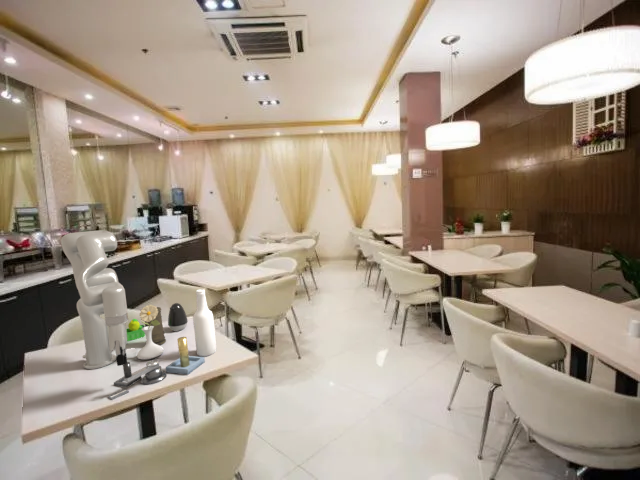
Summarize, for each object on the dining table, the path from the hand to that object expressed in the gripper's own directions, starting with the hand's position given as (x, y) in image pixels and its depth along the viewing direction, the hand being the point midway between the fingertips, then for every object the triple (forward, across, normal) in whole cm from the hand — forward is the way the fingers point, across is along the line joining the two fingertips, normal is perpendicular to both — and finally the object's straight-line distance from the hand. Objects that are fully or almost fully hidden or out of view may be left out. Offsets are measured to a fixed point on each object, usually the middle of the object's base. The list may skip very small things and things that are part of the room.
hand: (122, 364), depth 133 cm
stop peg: (+8, -5, +22) cm, 24 cm away
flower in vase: (+10, -24, +8) cm, 27 cm away
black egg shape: (+11, -56, +20) cm, 61 cm away
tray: (+9, -5, +22) cm, 25 cm away
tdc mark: (+9, +6, -1) cm, 11 cm away
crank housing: (+9, -2, +6) cm, 11 cm away
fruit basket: (+11, -55, -2) cm, 56 cm away
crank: (+4, +2, +7) cm, 8 cm away
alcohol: (+9, -15, +32) cm, 36 cm away
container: (+10, -41, +9) cm, 43 cm away
